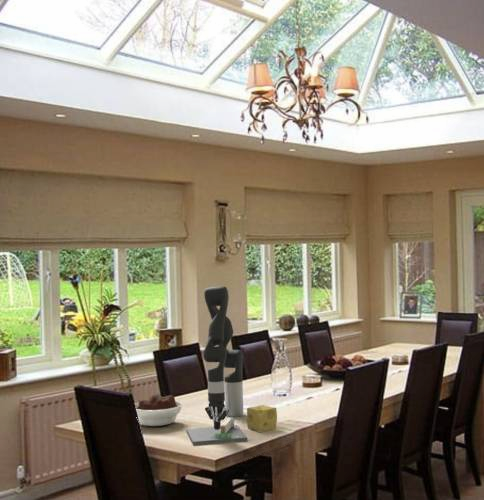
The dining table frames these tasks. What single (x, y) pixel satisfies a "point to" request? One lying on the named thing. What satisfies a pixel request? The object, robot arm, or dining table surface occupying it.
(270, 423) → the cheese
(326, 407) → the dining table surface
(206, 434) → the grey square slab
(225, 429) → the beige wooden bar
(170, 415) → the bowl of brownies
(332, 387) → the dining table surface
